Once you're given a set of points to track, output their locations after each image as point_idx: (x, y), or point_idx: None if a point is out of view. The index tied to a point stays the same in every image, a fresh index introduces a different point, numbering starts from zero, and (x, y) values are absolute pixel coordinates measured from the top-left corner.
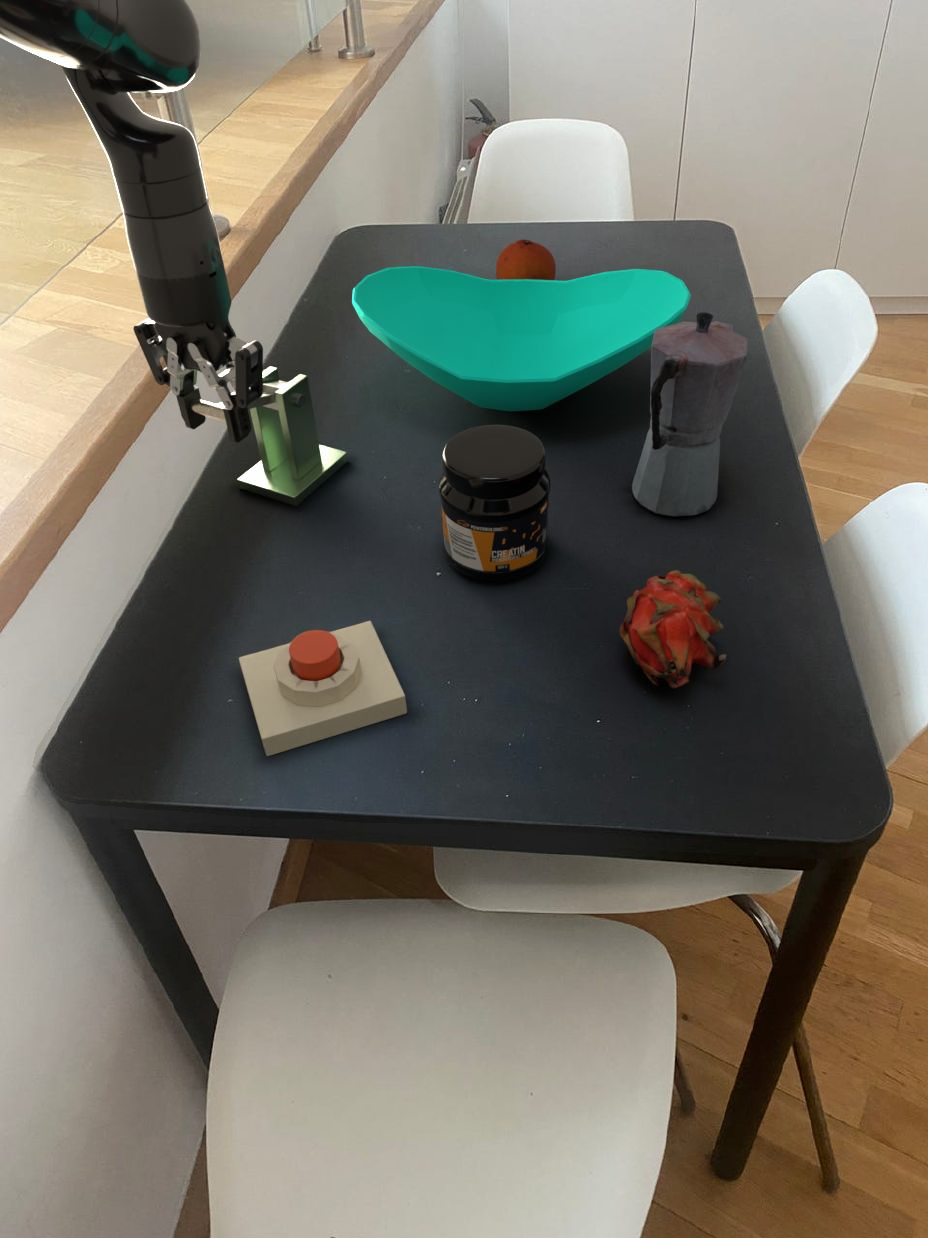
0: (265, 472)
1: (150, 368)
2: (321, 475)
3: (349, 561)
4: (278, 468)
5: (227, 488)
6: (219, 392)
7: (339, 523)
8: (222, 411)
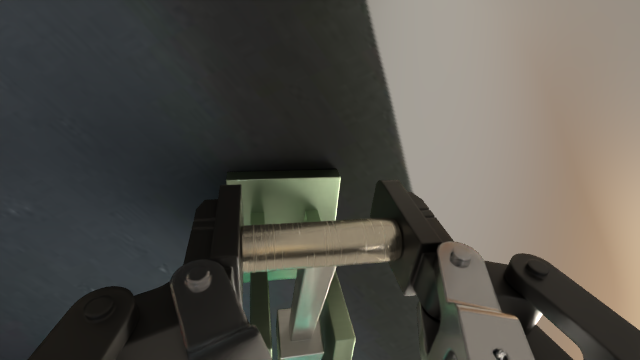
0: (310, 206)
1: (595, 297)
2: None
3: (25, 94)
4: (299, 221)
5: (353, 161)
6: (228, 314)
7: (133, 168)
8: (270, 249)
